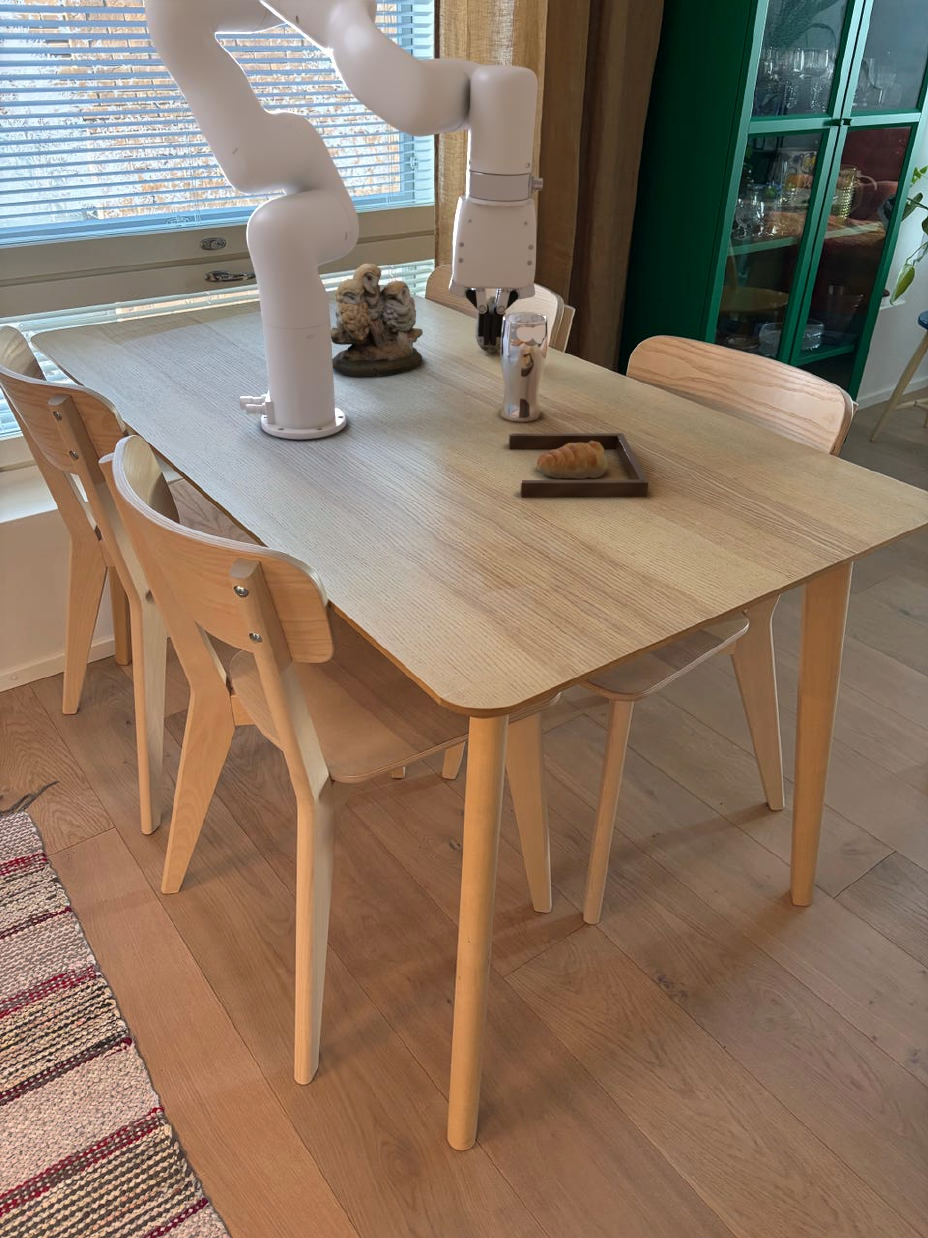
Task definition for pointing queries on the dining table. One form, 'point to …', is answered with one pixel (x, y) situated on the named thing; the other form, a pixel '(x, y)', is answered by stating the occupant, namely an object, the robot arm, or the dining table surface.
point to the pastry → (574, 461)
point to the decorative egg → (496, 348)
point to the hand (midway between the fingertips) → (488, 342)
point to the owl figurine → (374, 326)
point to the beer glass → (522, 364)
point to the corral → (582, 487)
